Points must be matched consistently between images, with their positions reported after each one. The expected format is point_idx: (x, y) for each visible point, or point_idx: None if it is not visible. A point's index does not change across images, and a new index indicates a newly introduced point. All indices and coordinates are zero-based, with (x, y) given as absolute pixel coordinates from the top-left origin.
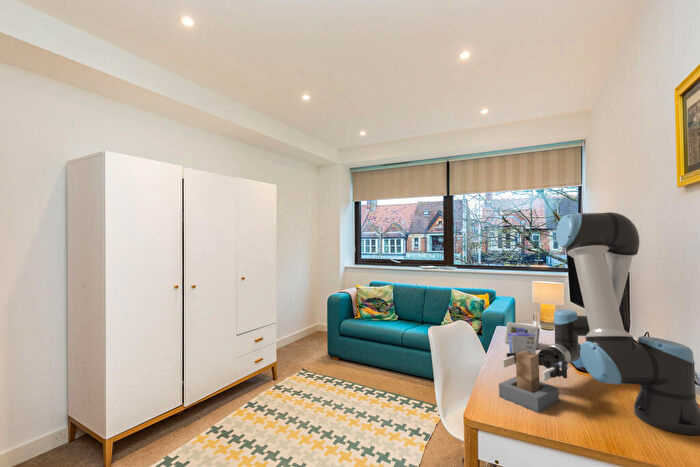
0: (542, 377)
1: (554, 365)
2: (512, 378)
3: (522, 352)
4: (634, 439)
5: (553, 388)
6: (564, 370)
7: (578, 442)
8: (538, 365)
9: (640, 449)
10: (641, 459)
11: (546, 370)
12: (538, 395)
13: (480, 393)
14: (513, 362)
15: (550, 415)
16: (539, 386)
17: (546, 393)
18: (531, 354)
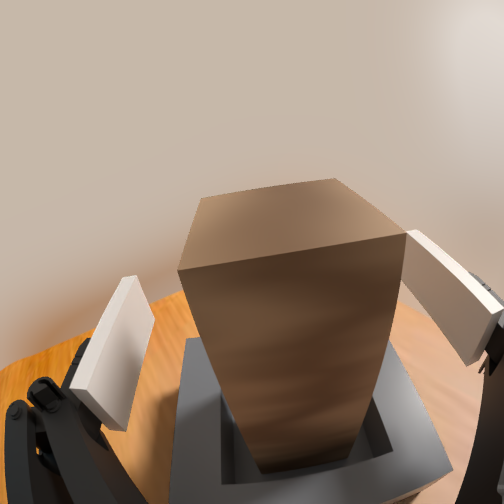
0: (146, 305)
1: (84, 473)
2: (413, 394)
3: (347, 206)
4: (3, 421)
5: (181, 493)
6: (17, 401)
7: (91, 335)
8: (215, 370)
9: (5, 390)
10: (13, 362)
11: (116, 305)
12: (195, 360)
13: (402, 312)
14: (464, 343)
15: (168, 395)
16: (251, 454)
17: (178, 405)
18: (243, 227)
